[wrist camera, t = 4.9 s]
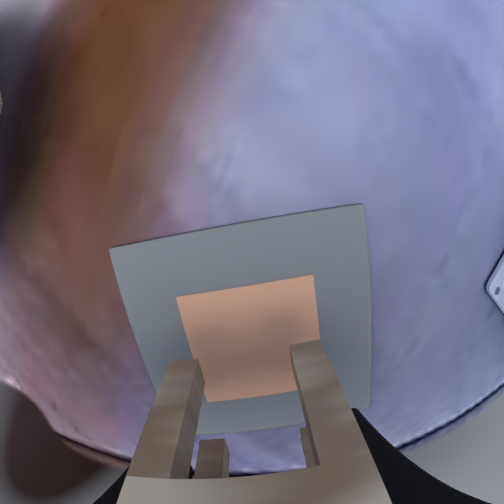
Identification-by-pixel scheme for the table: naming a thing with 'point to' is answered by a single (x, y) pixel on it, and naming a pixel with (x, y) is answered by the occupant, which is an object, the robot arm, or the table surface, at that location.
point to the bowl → (0, 104)
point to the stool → (217, 454)
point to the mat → (254, 310)
